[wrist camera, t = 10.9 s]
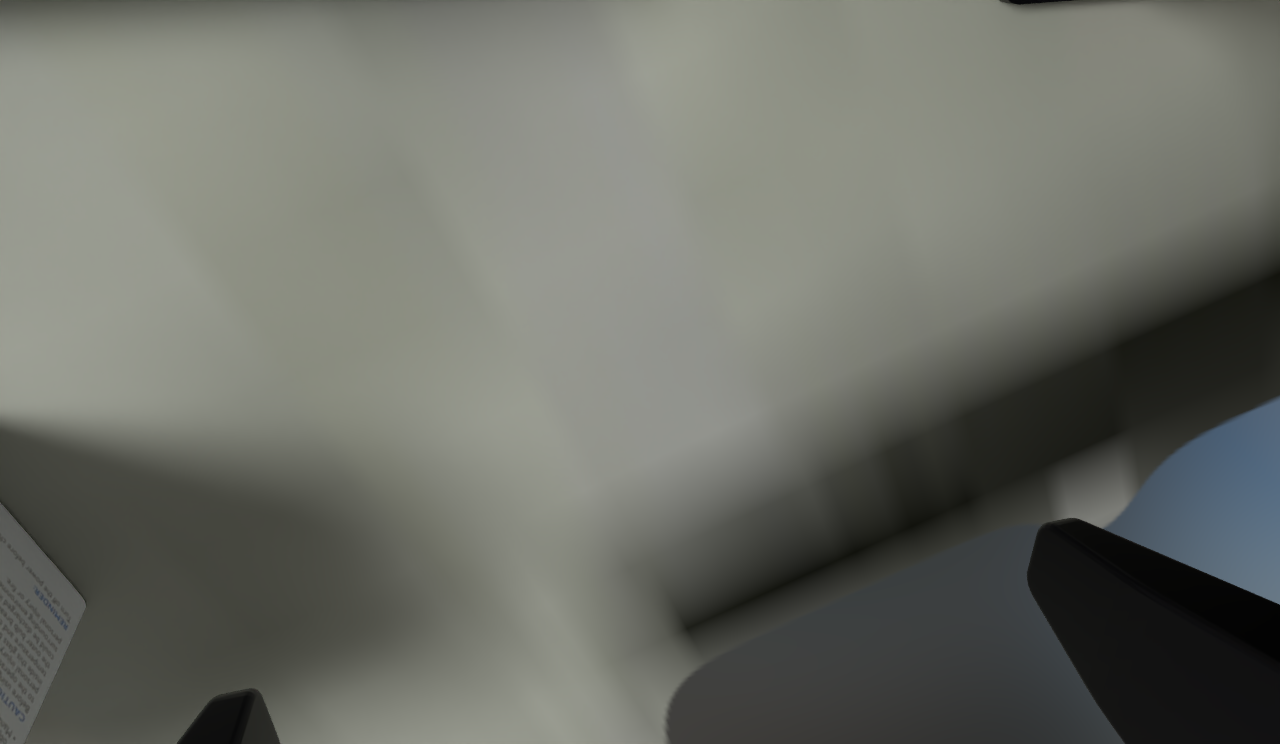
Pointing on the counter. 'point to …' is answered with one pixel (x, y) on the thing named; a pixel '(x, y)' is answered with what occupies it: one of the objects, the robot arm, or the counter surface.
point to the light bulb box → (30, 627)
